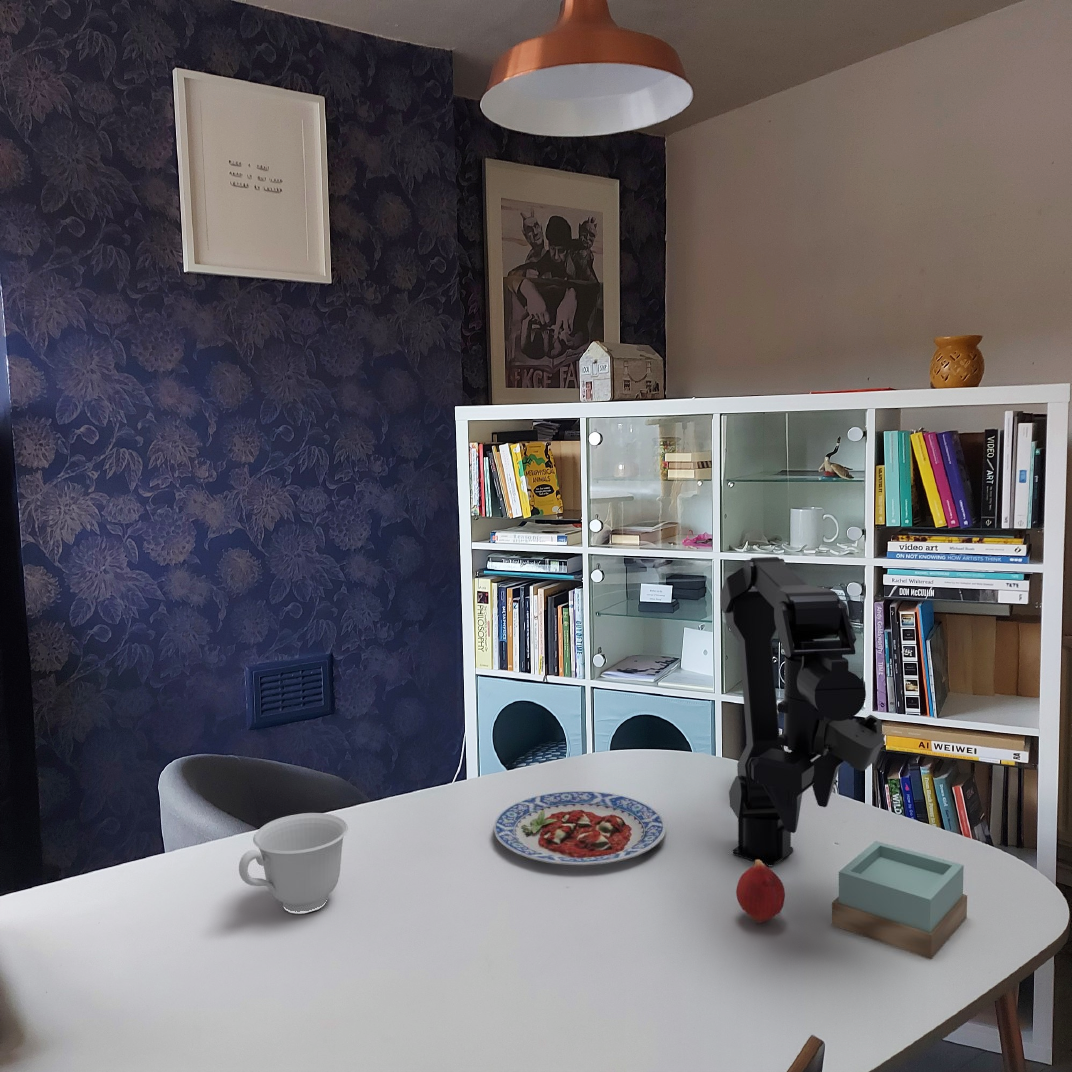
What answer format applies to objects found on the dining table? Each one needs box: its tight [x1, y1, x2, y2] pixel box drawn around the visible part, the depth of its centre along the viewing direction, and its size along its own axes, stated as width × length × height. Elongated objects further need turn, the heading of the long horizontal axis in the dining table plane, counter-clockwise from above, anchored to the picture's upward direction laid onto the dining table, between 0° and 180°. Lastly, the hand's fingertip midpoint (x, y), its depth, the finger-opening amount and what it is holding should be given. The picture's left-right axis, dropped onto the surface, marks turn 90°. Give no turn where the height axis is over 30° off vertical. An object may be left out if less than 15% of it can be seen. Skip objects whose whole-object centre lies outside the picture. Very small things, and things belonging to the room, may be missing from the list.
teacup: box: [238, 812, 349, 912], centre depth 124 cm, size 12×15×10 cm
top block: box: [838, 840, 965, 933], centre depth 117 cm, size 11×11×4 cm
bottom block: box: [831, 893, 968, 960], centre depth 118 cm, size 12×12×4 cm
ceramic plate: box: [493, 790, 667, 866], centre depth 144 cm, size 26×26×3 cm
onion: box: [735, 859, 786, 924], centre depth 118 cm, size 6×6×8 cm
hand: (807, 818), depth 117 cm, fingers open, 9 cm apart
